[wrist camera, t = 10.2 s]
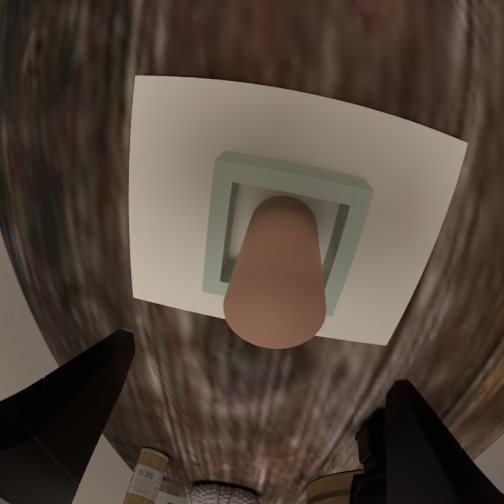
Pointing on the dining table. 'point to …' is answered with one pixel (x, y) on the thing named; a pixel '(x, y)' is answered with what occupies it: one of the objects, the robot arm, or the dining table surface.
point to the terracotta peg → (277, 277)
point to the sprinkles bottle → (146, 477)
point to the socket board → (283, 194)
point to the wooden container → (331, 489)
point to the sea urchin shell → (220, 495)
